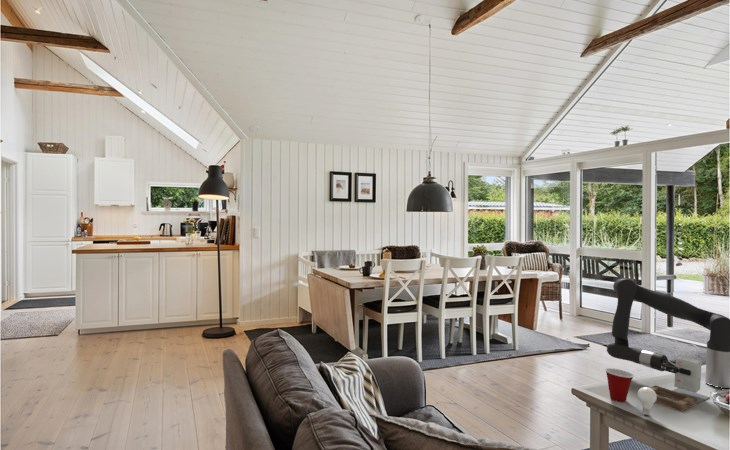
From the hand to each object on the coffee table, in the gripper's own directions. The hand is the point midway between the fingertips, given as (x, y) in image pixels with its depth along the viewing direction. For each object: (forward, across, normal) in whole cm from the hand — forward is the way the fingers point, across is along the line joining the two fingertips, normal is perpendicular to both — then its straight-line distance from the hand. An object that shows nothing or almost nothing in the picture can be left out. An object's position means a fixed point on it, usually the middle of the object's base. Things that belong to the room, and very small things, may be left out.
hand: (694, 372), depth 192 cm
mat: (-2, 0, +11) cm, 11 cm away
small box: (-2, 0, +8) cm, 9 cm away
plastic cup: (-15, -32, +12) cm, 37 cm away
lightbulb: (-1, -38, +12) cm, 40 cm away
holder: (-4, -14, +11) cm, 18 cm away
